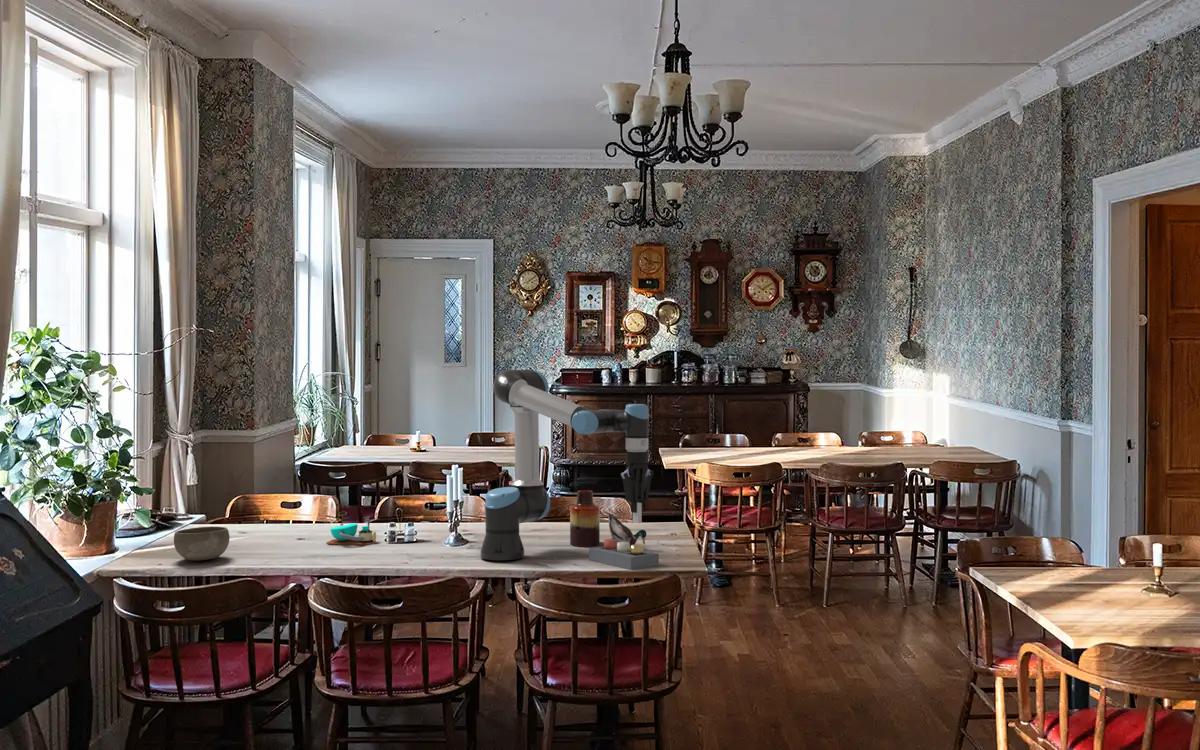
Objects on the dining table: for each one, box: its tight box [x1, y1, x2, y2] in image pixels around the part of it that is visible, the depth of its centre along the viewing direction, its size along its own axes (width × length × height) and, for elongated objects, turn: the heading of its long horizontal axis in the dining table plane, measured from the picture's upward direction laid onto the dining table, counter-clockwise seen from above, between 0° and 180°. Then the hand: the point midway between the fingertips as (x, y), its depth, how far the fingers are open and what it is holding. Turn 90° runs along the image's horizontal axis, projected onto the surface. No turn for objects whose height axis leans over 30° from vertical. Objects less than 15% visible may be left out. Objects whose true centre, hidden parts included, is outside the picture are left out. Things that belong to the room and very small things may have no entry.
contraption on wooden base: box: [325, 511, 377, 547], centre depth 378 cm, size 14×18×15 cm
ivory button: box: [616, 542, 630, 553], centre depth 342 cm, size 4×4×4 cm
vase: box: [569, 489, 601, 548], centre depth 375 cm, size 11×11×20 cm
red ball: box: [603, 538, 617, 550], centre depth 348 cm, size 4×4×4 cm
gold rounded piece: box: [631, 543, 644, 556], centre depth 337 cm, size 4×4×4 cm
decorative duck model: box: [607, 513, 647, 548], centre depth 368 cm, size 15×8×15 cm, turn 60°
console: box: [588, 544, 660, 571], centre depth 342 cm, size 12×22×4 cm, turn 39°
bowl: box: [173, 526, 231, 561], centre depth 350 cm, size 17×18×10 cm
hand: (637, 522), depth 337 cm, fingers closed
